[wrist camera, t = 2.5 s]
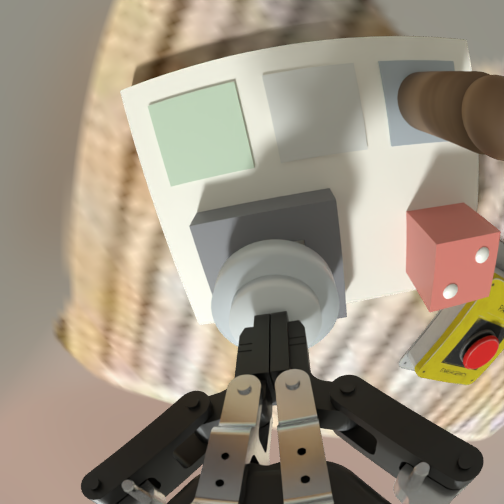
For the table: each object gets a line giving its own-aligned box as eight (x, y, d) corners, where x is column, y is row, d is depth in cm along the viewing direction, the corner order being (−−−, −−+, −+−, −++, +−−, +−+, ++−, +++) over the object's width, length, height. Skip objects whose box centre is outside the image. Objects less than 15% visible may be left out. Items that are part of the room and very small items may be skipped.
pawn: (445, 71, 14) (551, 79, 6) (452, 129, 16) (553, 171, 8) (392, 72, 14) (487, 70, 7) (401, 133, 16) (493, 177, 8)
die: (463, 202, 18) (501, 232, 14) (459, 260, 20) (489, 297, 16) (406, 211, 18) (437, 245, 14) (405, 271, 21) (429, 313, 17)
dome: (322, 215, 17) (337, 255, 13) (333, 308, 20) (344, 359, 16) (207, 235, 18) (190, 279, 14) (235, 323, 21) (227, 374, 17)
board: (454, 41, 14) (483, 37, 11) (461, 267, 22) (481, 292, 19) (130, 90, 17) (104, 92, 14) (202, 312, 25) (194, 343, 22)
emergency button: (404, 397, 24) (516, 257, 17) (393, 361, 28) (486, 230, 21) (465, 404, 25) (559, 291, 18) (452, 374, 29) (535, 266, 22)
